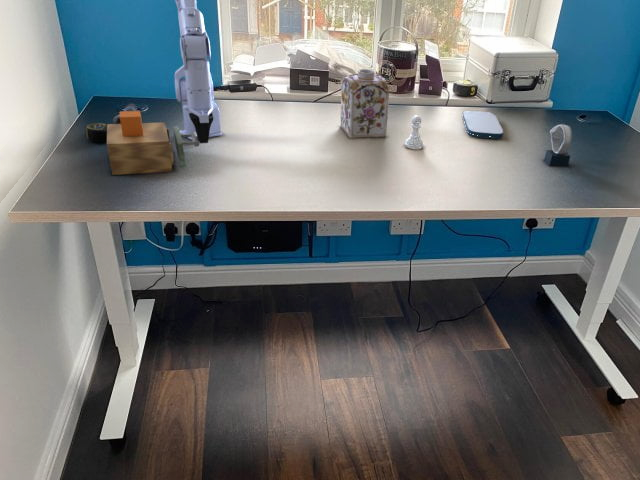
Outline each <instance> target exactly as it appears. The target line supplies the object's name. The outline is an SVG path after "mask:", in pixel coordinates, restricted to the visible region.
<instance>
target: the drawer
mask: <svg viewBox="0 0 640 480" xmlns="http://www.w3.org/2000/svg"><path fill="white" fill-rule="evenodd" d="M166 130H167V135H168V140H169V146H170V155H171V163H172V166H173V165H175V157H174V151H173V144H172V143H173V142H171V139H170V129H169V127H166ZM180 131H181V130H180V128H179V125H174V126H173V134H174V144H175V150H176V155H177V158H178V163H179V167H186V160H185V150H184V146H194V147H199V146H200V143H199V140H198V137H197V134H196V133H195V132H192V133H191V134H181V133H180ZM188 137H192V140H191V141H184V142H183V139H182V138H188Z"/></svg>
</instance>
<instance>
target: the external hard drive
mask: <svg viewBox="0 0 640 480" xmlns="http://www.w3.org/2000/svg"><path fill="white" fill-rule="evenodd" d="M462 114H463V118H464V121H465V124H464V121H463V118H462V117H461V119H462V122H463V124H464V127H465V125H466V127H465V131H466V133H467V135H469V136H470V137H474V138H482V139H483V138H484V139H495V140H496V139H497V140H498V139H502V138H503V137H504V133H505V132H504V129H503V127H502V126H501V123H500V121H499V120H498V117H497V116H496V114H494V113H492V112H488V111H476V110H463V111H462V113H461V115H462ZM466 128H467V130H466ZM467 131H468V132H469V133H468V132H467ZM470 133H471V134H470ZM472 134H474V135H472ZM477 135H478V136H477ZM489 136H491V137H489Z"/></svg>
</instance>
